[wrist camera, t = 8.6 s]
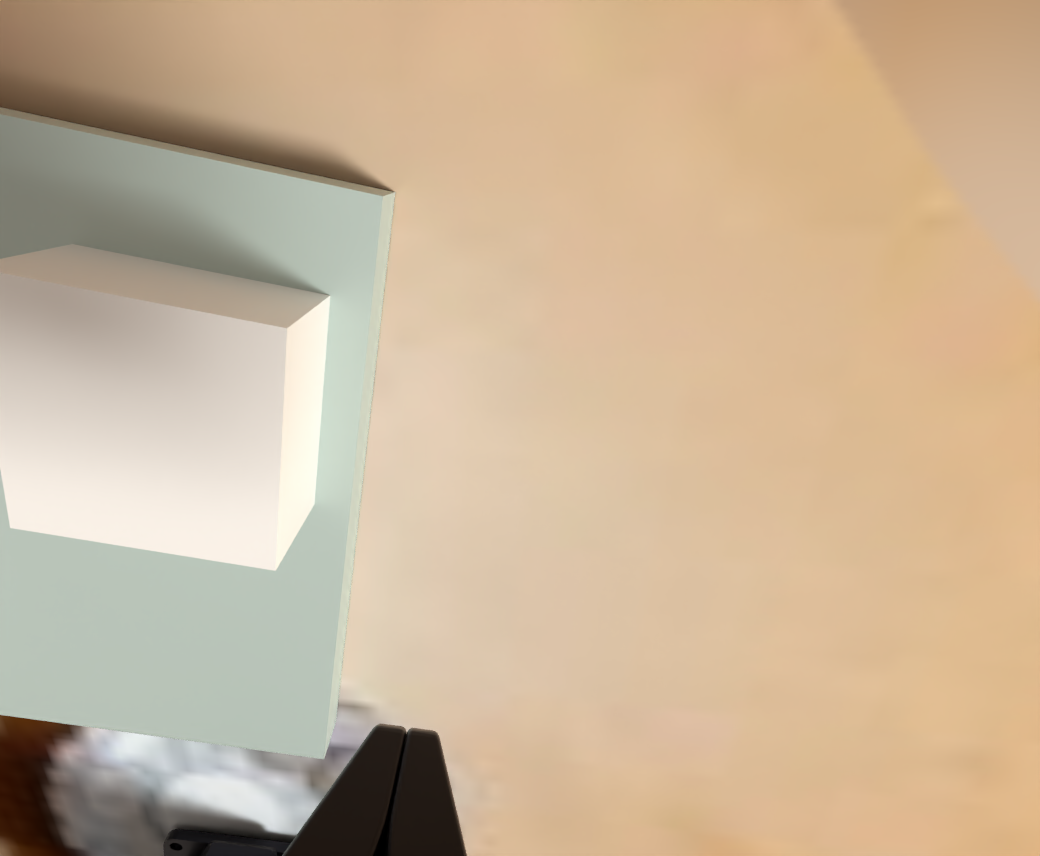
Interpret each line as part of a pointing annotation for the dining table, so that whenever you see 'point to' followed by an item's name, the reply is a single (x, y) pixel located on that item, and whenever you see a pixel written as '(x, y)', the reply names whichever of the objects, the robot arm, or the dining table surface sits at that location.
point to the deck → (173, 578)
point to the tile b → (158, 404)
